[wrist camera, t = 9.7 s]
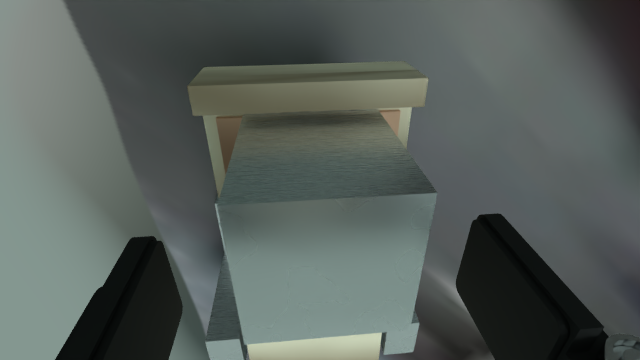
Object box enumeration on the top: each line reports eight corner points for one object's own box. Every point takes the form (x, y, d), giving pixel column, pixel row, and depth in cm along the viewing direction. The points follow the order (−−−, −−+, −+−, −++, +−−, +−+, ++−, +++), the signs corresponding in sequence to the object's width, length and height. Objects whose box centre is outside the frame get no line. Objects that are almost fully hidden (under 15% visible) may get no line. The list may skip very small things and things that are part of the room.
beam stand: (217, 194, 26) (189, 289, 18) (388, 184, 27) (430, 270, 19) (254, 383, 39) (247, 484, 31) (367, 371, 40) (387, 467, 32)
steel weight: (243, 112, 13) (217, 205, 8) (376, 107, 13) (437, 192, 8) (257, 220, 15) (244, 344, 10) (368, 213, 16) (409, 330, 10)
